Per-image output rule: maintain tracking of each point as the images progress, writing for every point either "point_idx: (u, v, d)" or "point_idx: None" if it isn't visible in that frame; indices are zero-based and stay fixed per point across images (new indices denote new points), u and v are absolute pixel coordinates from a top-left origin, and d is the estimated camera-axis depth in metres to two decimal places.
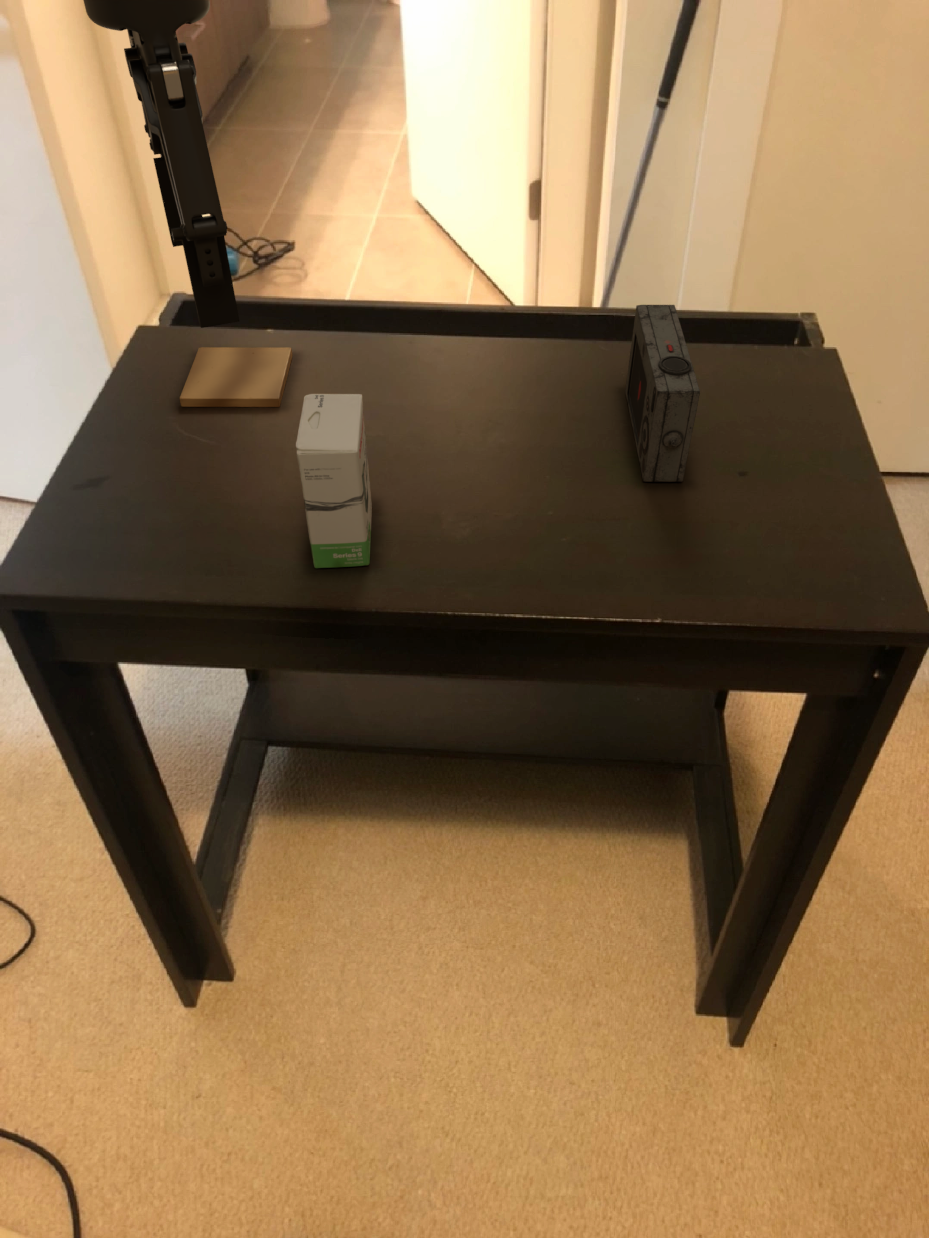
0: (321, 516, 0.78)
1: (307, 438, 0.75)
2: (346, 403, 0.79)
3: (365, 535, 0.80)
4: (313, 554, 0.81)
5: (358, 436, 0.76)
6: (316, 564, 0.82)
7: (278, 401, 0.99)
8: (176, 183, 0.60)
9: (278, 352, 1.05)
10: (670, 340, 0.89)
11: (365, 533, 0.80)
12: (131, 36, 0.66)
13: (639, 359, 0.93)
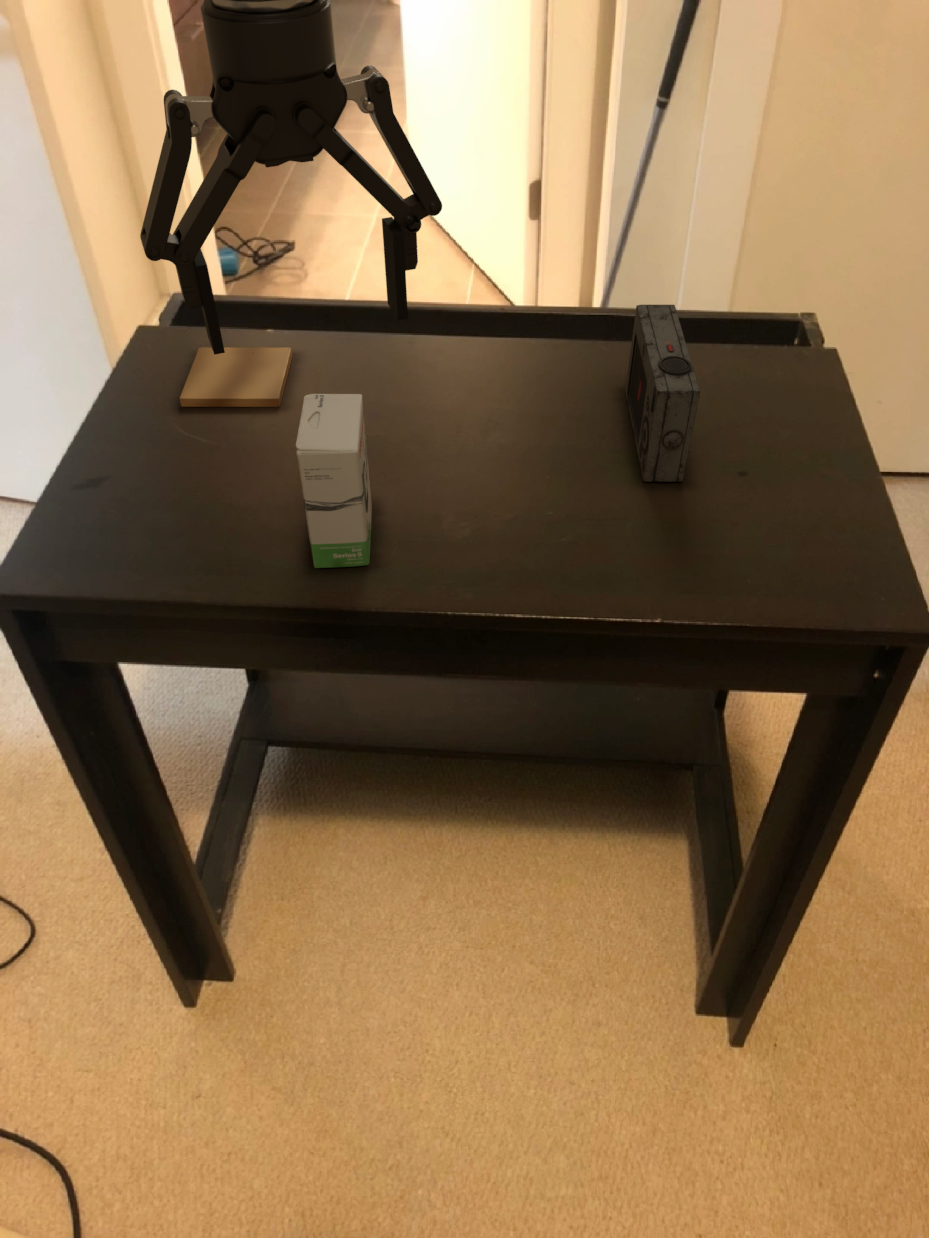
0: (321, 516, 0.78)
1: (307, 438, 0.75)
2: (346, 403, 0.79)
3: (365, 535, 0.80)
4: (313, 554, 0.81)
5: (358, 436, 0.76)
6: (316, 563, 0.82)
7: (278, 401, 0.99)
8: None
9: (278, 352, 1.05)
10: (670, 340, 0.89)
11: (365, 533, 0.80)
12: (193, 125, 0.59)
13: (639, 359, 0.93)
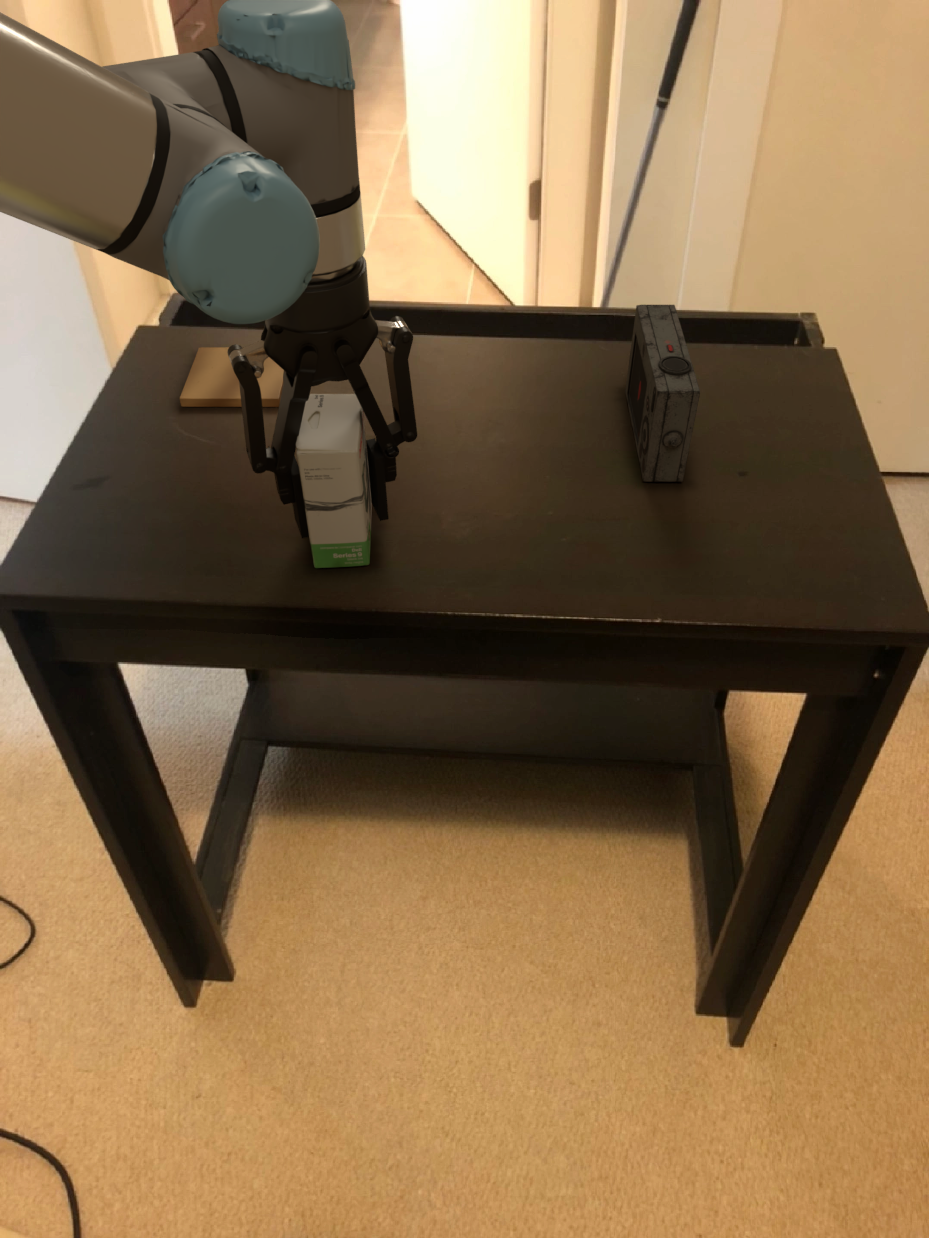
0: (321, 516, 0.78)
1: (307, 438, 0.75)
2: (346, 403, 0.79)
3: (365, 535, 0.80)
4: (313, 554, 0.81)
5: (358, 436, 0.76)
6: (316, 563, 0.82)
7: (278, 401, 0.99)
8: (413, 405, 0.77)
9: None
10: (670, 340, 0.89)
11: (365, 533, 0.80)
12: (255, 371, 0.71)
13: (639, 359, 0.93)
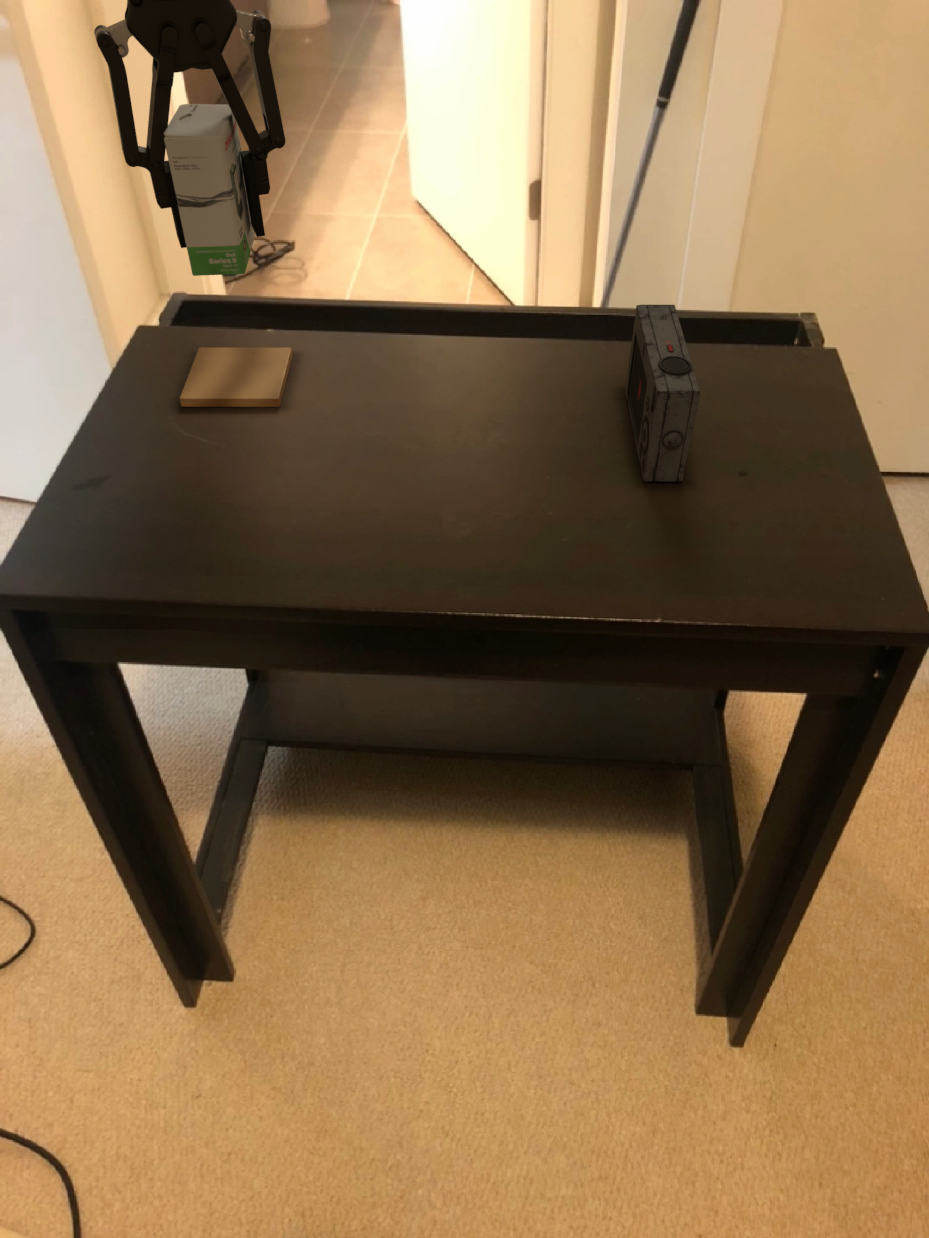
0: (193, 213, 0.83)
1: (176, 129, 0.80)
2: (218, 110, 0.84)
3: (238, 238, 0.85)
4: (190, 259, 0.86)
5: (224, 129, 0.81)
6: (194, 270, 0.87)
7: (278, 401, 0.99)
8: (278, 106, 0.82)
9: (278, 352, 1.05)
10: (670, 340, 0.89)
11: (237, 236, 0.85)
12: (119, 47, 0.76)
13: (639, 359, 0.93)
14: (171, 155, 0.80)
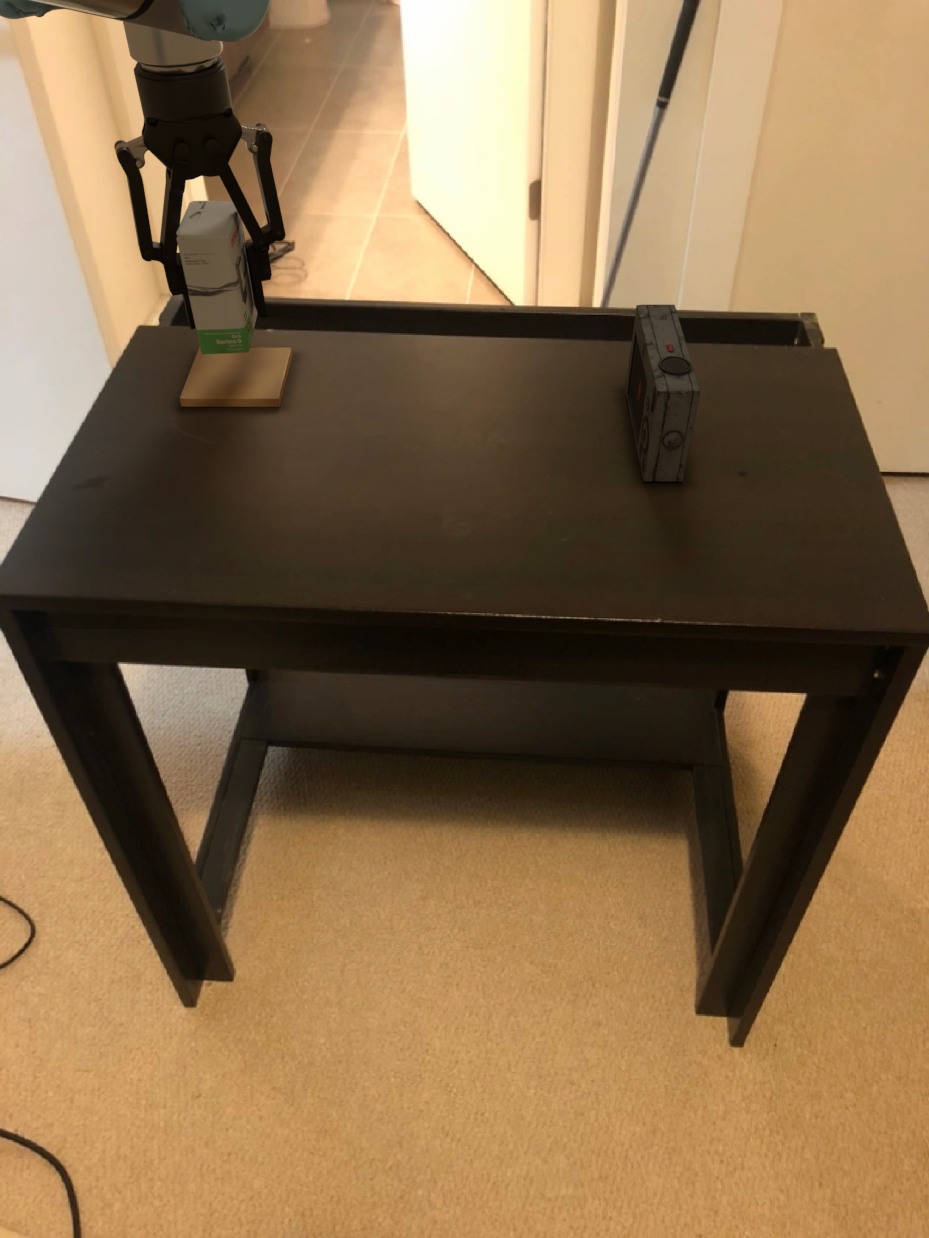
0: (202, 301, 0.92)
1: (187, 228, 0.89)
2: (225, 207, 0.93)
3: (242, 322, 0.94)
4: (199, 340, 0.95)
5: (230, 228, 0.90)
6: (202, 350, 0.96)
7: (278, 401, 0.99)
8: (279, 205, 0.91)
9: (278, 352, 1.05)
10: (670, 340, 0.89)
11: (242, 320, 0.94)
12: (136, 161, 0.84)
13: (639, 359, 0.93)
14: (183, 252, 0.89)
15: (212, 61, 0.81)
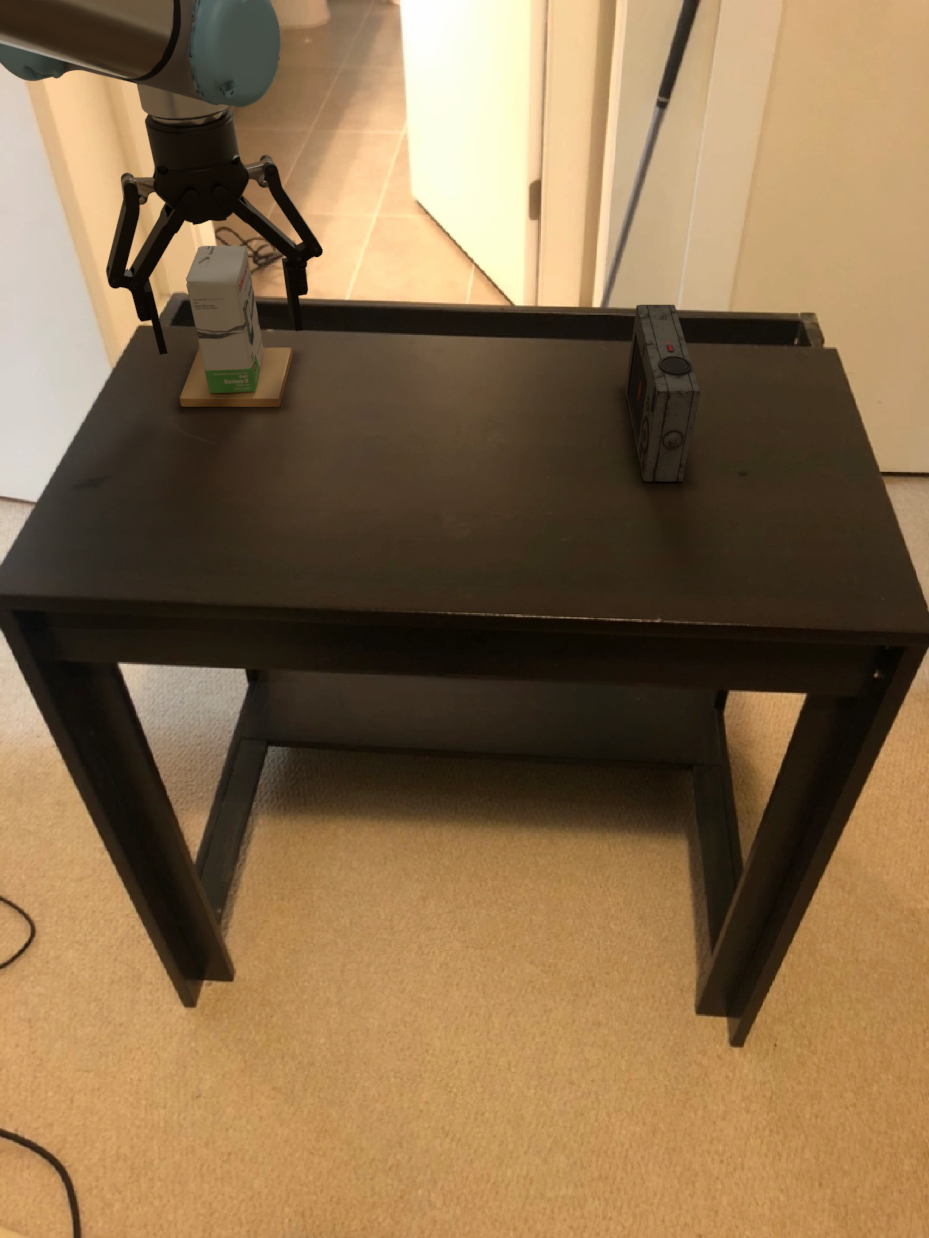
0: (210, 343, 0.95)
1: (196, 274, 0.92)
2: (232, 252, 0.96)
3: (249, 363, 0.97)
4: (207, 380, 0.98)
5: (238, 274, 0.93)
6: (210, 389, 0.99)
7: (278, 401, 0.99)
8: (306, 224, 0.93)
9: (278, 352, 1.05)
10: (670, 340, 0.89)
11: (249, 361, 0.97)
12: (140, 197, 0.87)
13: (639, 359, 0.93)
14: (192, 297, 0.92)
15: (221, 113, 0.83)
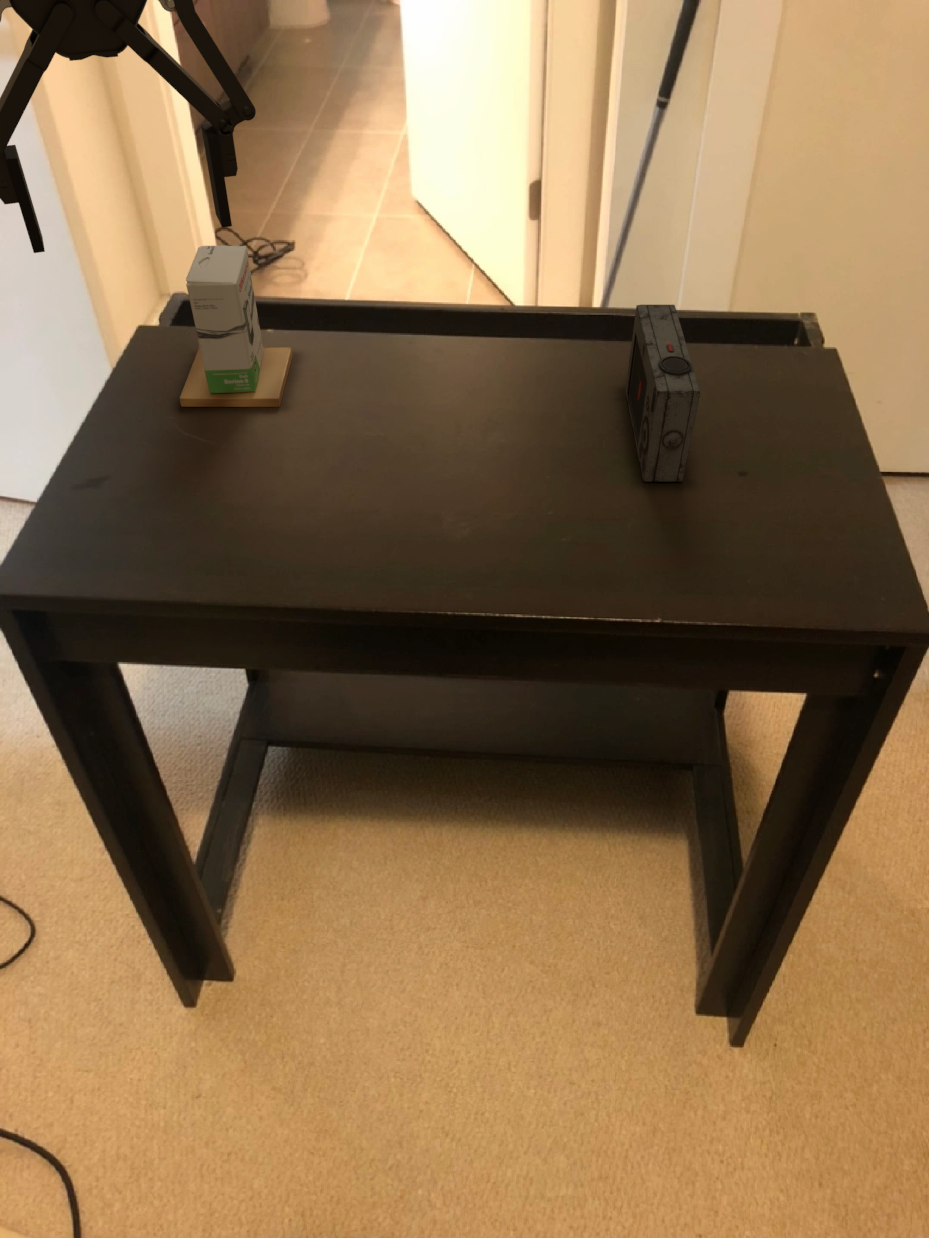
0: (210, 343, 0.95)
1: (196, 274, 0.92)
2: (232, 252, 0.96)
3: (249, 363, 0.97)
4: (207, 380, 0.98)
5: (238, 274, 0.93)
6: (210, 389, 0.99)
7: (278, 401, 0.99)
8: None
9: (278, 352, 1.05)
10: (670, 340, 0.89)
11: (249, 361, 0.97)
12: None
13: (639, 359, 0.93)
14: (192, 297, 0.92)
15: None
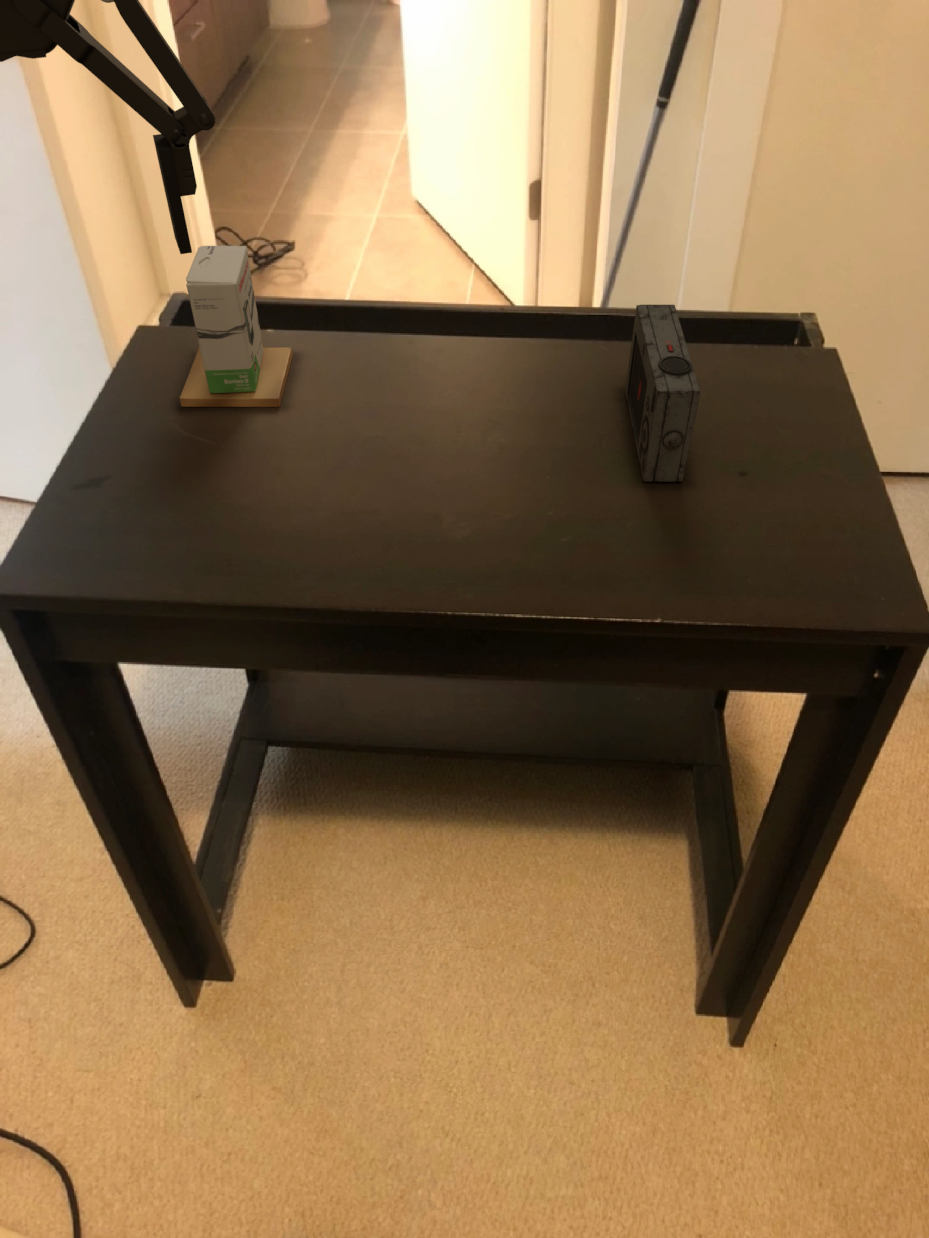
0: (210, 343, 0.95)
1: (196, 274, 0.92)
2: (233, 252, 0.96)
3: (249, 363, 0.97)
4: (207, 380, 0.98)
5: (238, 274, 0.93)
6: (210, 389, 0.99)
7: (278, 401, 0.99)
8: (184, 72, 0.57)
9: (278, 352, 1.05)
10: (670, 340, 0.89)
11: (249, 361, 0.97)
12: None
13: (639, 359, 0.93)
14: (192, 297, 0.92)
15: None
